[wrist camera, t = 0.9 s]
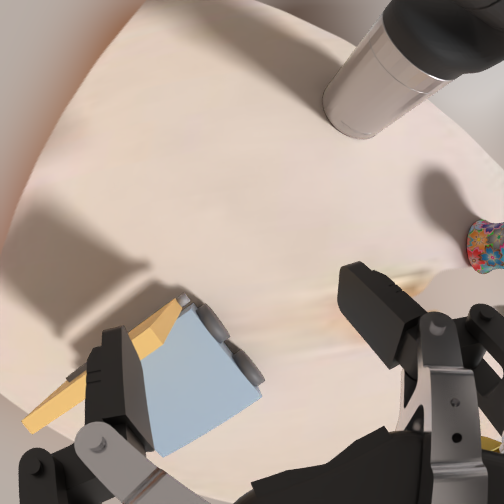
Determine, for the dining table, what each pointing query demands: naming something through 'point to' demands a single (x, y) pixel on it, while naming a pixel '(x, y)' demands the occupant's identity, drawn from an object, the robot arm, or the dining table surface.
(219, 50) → the dining table surface
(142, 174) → the dining table surface
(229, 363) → the flatbed
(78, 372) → the yellow plate
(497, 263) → the mug
